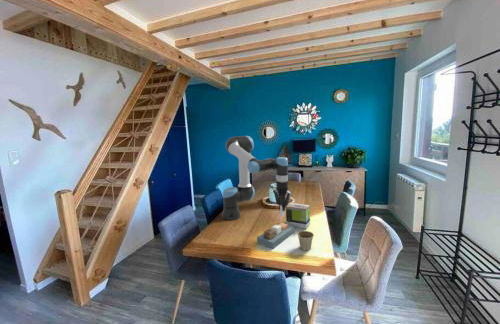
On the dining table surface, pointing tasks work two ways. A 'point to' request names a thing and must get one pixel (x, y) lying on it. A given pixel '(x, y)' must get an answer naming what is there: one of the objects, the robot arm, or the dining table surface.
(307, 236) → the flower pot
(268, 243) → the grey slotted tray
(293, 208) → the tea box
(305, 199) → the dining table surface
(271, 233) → the walnut key
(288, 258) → the dining table surface
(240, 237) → the dining table surface
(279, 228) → the cream key
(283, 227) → the terracotta key
